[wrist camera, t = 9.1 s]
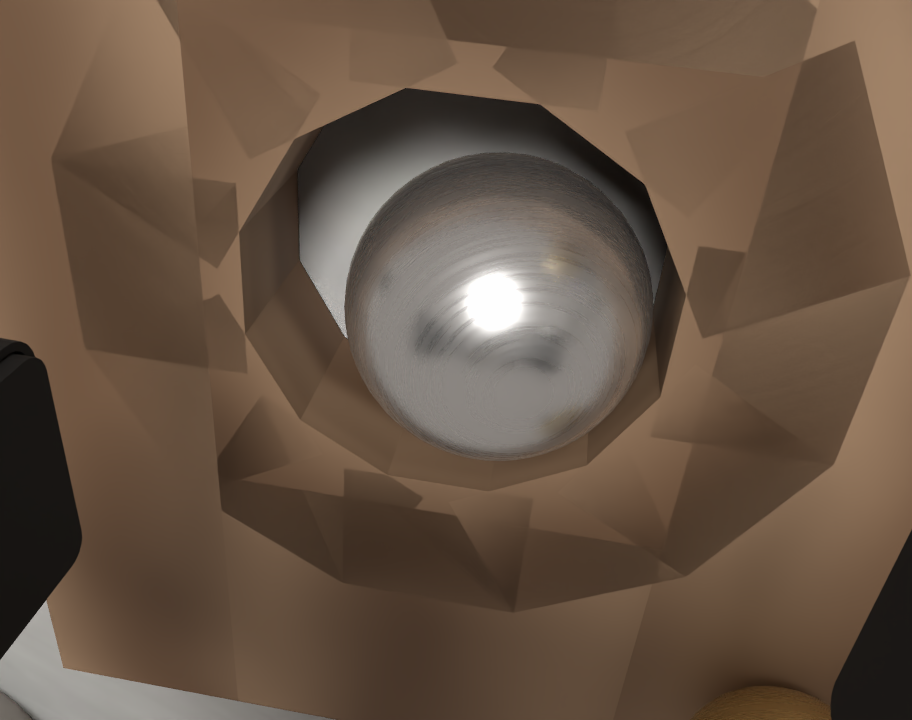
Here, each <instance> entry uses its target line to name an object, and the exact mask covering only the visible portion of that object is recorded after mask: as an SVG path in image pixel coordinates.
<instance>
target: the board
mask: <svg viewBox="0 0 912 720" xmlns="http://www.w3.org/2000/svg"><path fill="white" fill-rule="evenodd" d="M404 88H413V89H421V90H429V91H437V92H445V93H453V94H461V95H470V96H478V97H486V98H494V99H502V100H510V101H518V102H526V103H534V104H540V105H542V106H543V107H544V108H545V109H547V110H548V111H549V112H551V113H552V114H553V115H555V116H556V117H557V118H559V119H560V120H561V121H563V122H564V123H565V124H566V125H568V126H569V127H570V128H572V129H573V130H574V131H576V132H577V133H578V134H580V135H581V136H582V137H583V138H585V139H586V140H587V141H589V142H590V143H591V144H593V145H594V146H595V147H597V148H598V149H599V150H600V151H602V152H603V153H604V154H606V155H607V156H608V157H610V158H611V159H612V160H614V161H615V162H616V163H617V164H619V165H620V166H621V167H623V168H624V169H625V170H627V171H628V172H629V173H631V174H632V175H633V176H635V177H636V178H637V179H638V180H640V181H641V182H642V183H644V184H645V186H646V188H647V191H648V194H649V197H650V199H651V202H652V205H653V207H654V210H655V213H656V215H657V218H658V221H659V223H660V226H661V229H662V231H663V234H664V237H665V240H666V242H667V245H668V247H667V251H666V255H665V260H664V264H663V268H662V273H661V277H660V281H659V286H658V290H657V294H656V299H655V303H654V307H653V319H652V328H651V335H650V340H649V343H648V347H647V350H646V353H645V356H644V359H643V363H642V365H641V367H640V370H639V372H638V374H637V376H636V378H635V380H634V382H633V383H632V385H631V386H630V388H629V390H628V391H627V393H626V394H625V396H624V397H623V398H622V400H621V401H620V402H619V404H618V405H617V406H616V407H615V408H614V410H613V411H612V412H611V413H610V414H609V415H608V416H607V417H606V418H605V419H604V420H603V421H602V422H601V423H599V424H598V425H597V426H596V427H594V428H593V429H592V430H591V431H589V432H588V433H586V434H585V435H583V436H582V437H580V438H578V439H577V440H575V441H573V442H571V443H569V444H567V445H565V446H563V447H561V448H559V449H556V450H554V451H551V452H548V453H545V454H542V455H538V456H534V457H530V458H525V459H519V460H509V461H484V460H477V459H470V458H466V457H462V456H458V455H454V454H451V453H448V452H446V451H443V450H441V449H438V448H436V447H433V446H431V445H429V444H427V443H425V442H423V441H422V440H420V439H418V438H417V437H415V436H414V435H412V434H411V433H410V432H408V431H407V430H405V429H404V428H403V427H402V426H400V425H399V424H398V423H397V422H395V421H394V420H393V419H392V418H391V417H390V416H389V415H388V414H387V413H386V412H385V411H384V409H383V408H382V407H381V406H380V404H379V403H378V402H377V400H376V399H375V398H374V397H373V395H372V394H371V393H370V391H369V390H368V388H367V386H366V384H365V383H364V381H363V379H362V377H361V375H360V373H359V371H358V368H357V366H356V363H355V361H354V358H353V356H352V353H351V350H350V345H349V341H348V339H347V338H345V337H344V336H343V334H342V332H341V330H340V329H339V327H338V325H337V324H336V322H335V320H334V319H333V317H332V315H331V313H330V312H329V310H328V308H327V307H326V305H325V303H324V301H323V300H322V298H321V296H320V295H319V293H318V291H317V290H316V288H315V286H314V284H313V283H312V281H311V279H310V278H309V276H308V274H307V272H306V271H305V269H304V267H303V266H302V264H301V262H300V261H299V224H298V173H297V169H298V168H299V166H300V164H301V163H302V161H303V160H304V158H305V156H306V155H307V153H308V151H309V150H310V148H311V146H312V145H313V143H314V142H315V140H316V138H317V137H318V135H319V133H320V132H321V130H322V128H323V127H324V125H326V124H328V123H330V122H332V121H335V120H337V119H339V118H341V117H343V116H345V115H348V114H350V113H352V112H354V111H356V110H359V109H361V108H363V107H365V106H367V105H369V104H372V103H374V102H376V101H378V100H380V99H382V98H385V97H387V96H389V95H391V94H393V93H396V92H398V91H400V90H402V89H404ZM0 338H4V339H10V340H16V341H21V342H23V343H26V344H28V345H29V347H30V348H31V349H32V350H33V352H34V355H35V357H36V358H39V359H41V360H42V361H43V363H44V364H45V367H46V369H47V373H48V378H49V382H50V387H51V392H52V396H53V401H54V405H55V410H56V415H57V419H58V424H59V429H60V433H61V438H62V442H63V447H64V452H65V456H66V461H67V465H68V470H69V475H70V479H71V484H72V488H73V493H74V498H75V502H76V507H77V512H78V516H79V521H80V525H81V530H82V544H81V548H80V552H79V554H78V557H77V559H76V561H75V563H74V564H73V566H72V567H71V568H70V570H69V571H68V572H67V574H66V575H65V576H64V577H63V579H62V580H61V581H60V583H59V584H58V585H57V587H56V588H55V589H54V590H53V592H52V593H51V594H50V596H49V597H48V598H47V604H48V608H49V612H50V616H51V620H52V624H53V628H54V632H55V636H56V640H57V644H58V648H59V652H60V656H61V660H62V664H63V668H67V669H72V670H78V671H83V672H88V673H93V674H99V675H104V676H109V677H115V678H120V679H125V680H130V681H136V682H141V683H146V684H151V685H157V686H162V687H167V688H173V689H178V690H183V691H188V692H194V693H199V694H204V695H209V696H215V697H220V698H225V699H231V700H236V701H241V702H246V703H252V704H257V705H262V706H268V707H273V708H278V709H283V710H289V711H294V712H299V713H304V714H310V715H315V716H320V717H326V718H331V719H336V720H690V719H691V718H692V717H693V715H694V714H695V713H696V712H697V711H698V710H700V709H701V708H702V707H703V706H705V705H706V704H707V703H709V702H710V701H712V700H713V699H715V698H717V697H719V696H721V695H723V694H726V693H728V692H731V691H734V690H737V689H740V688H745V687H752V686H776V687H783V688H788V689H792V690H796V691H800V692H803V693H806V694H808V695H810V696H813V697H815V698H817V699H819V700H821V701H823V702H825V703H826V704H828V705H830V704H831V695H832V690H833V687H834V684H835V681H836V679H837V677H838V675H839V673H840V671H841V669H842V667H843V665H844V663H845V661H846V659H847V657H848V655H849V653H850V651H851V649H852V647H853V645H854V643H855V642H856V640H857V638H858V636H859V634H860V632H861V630H862V628H863V626H864V624H865V622H866V620H867V618H868V616H869V614H870V612H871V610H872V608H873V606H874V604H875V602H876V600H877V598H878V596H879V594H880V592H881V590H882V588H883V586H884V584H885V582H886V580H887V578H888V576H889V574H890V572H891V570H892V568H893V566H894V564H895V562H896V560H897V558H898V556H899V554H900V552H901V550H902V548H903V546H904V544H905V542H906V540H907V538H908V536H909V534H910V532H911V530H912V0H0Z"/></svg>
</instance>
